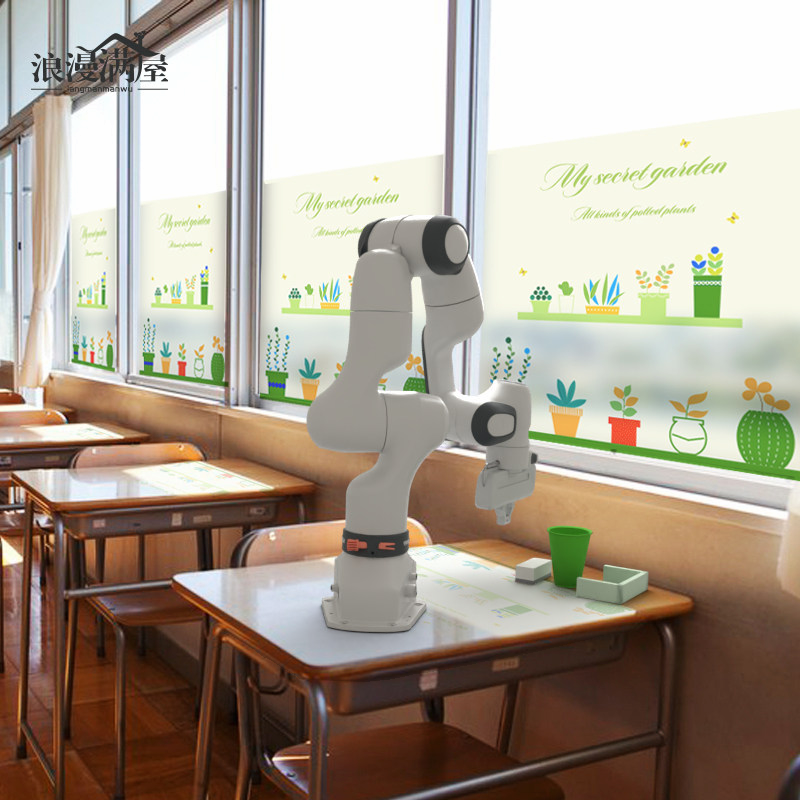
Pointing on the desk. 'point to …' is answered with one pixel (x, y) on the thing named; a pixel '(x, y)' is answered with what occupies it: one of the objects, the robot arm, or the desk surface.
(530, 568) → the eraser
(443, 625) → the desk surface
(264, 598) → the desk surface
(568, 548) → the cup
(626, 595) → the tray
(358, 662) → the desk surface
